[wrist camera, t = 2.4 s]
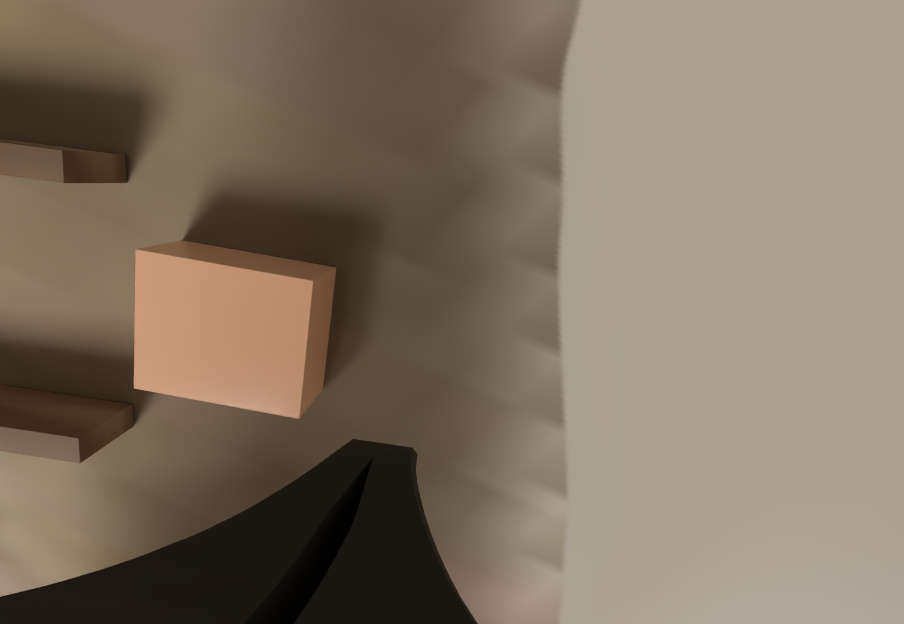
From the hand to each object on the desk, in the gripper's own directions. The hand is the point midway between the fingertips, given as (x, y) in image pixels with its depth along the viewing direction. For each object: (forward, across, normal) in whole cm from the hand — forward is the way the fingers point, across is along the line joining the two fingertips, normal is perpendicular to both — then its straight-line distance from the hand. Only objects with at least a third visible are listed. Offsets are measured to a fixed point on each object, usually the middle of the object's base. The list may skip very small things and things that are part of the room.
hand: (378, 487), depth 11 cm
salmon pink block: (+10, +7, 0) cm, 12 cm away
